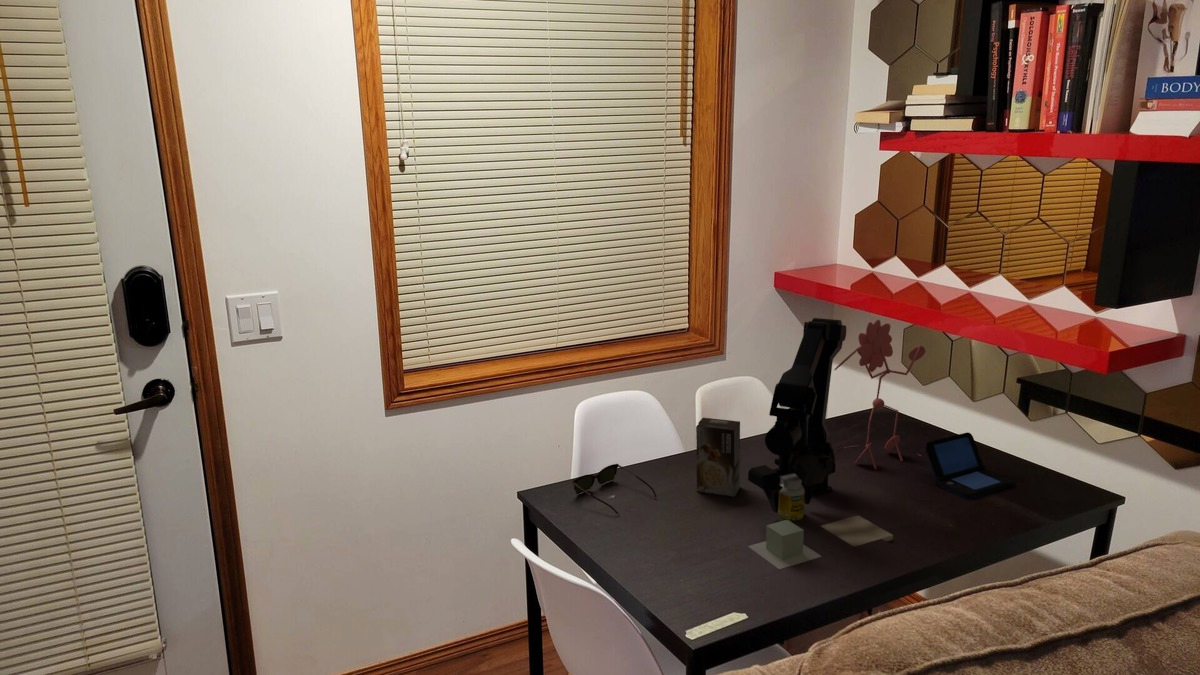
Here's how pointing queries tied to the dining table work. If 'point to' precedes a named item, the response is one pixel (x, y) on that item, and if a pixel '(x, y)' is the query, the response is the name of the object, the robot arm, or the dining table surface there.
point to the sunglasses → (600, 480)
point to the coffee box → (718, 456)
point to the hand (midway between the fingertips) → (791, 507)
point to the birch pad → (857, 531)
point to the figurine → (874, 354)
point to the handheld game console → (962, 467)
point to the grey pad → (777, 562)
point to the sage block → (784, 539)
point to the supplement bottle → (791, 498)
